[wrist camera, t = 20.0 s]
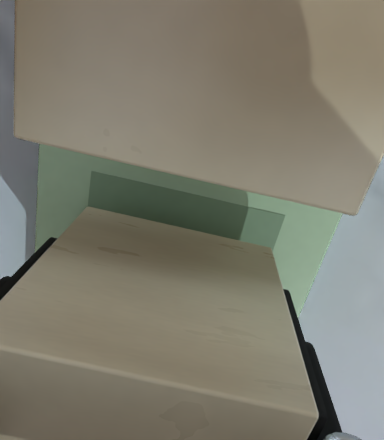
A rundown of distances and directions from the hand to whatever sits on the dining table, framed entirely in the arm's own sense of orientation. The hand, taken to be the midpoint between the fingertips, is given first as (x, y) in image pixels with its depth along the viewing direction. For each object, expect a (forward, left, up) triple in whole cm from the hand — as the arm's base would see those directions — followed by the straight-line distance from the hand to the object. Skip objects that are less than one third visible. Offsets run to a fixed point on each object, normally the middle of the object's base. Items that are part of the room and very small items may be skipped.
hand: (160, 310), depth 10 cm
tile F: (0, 0, 0) cm, 0 cm away
